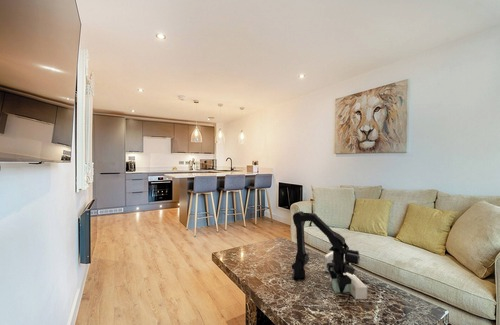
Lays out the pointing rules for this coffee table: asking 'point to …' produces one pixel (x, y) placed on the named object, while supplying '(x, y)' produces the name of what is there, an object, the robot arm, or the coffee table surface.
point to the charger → (336, 287)
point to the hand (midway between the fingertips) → (338, 288)
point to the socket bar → (357, 287)
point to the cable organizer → (330, 260)
